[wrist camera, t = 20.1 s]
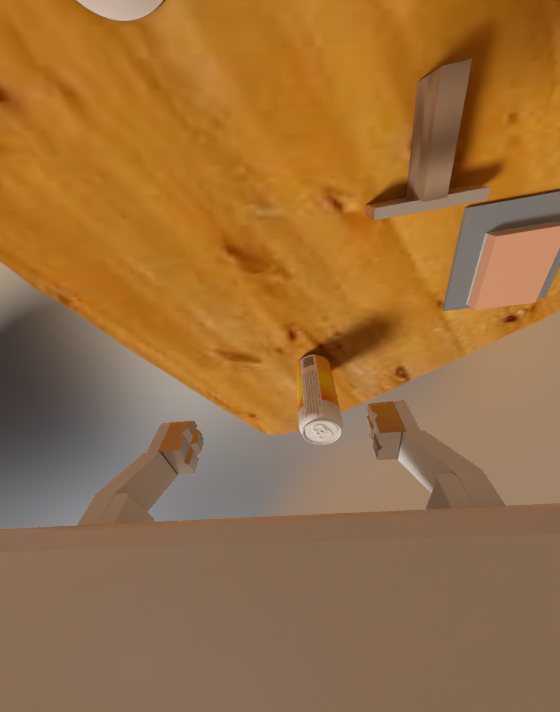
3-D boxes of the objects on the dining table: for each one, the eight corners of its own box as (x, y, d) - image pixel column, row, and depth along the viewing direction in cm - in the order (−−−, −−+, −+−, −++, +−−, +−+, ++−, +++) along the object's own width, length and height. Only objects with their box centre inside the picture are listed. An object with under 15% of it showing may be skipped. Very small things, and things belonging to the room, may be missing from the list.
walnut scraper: (368, 94, 26) (382, 80, 22) (495, 64, 25) (536, 42, 21) (365, 215, 32) (376, 221, 28) (466, 196, 31) (493, 200, 27)
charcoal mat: (465, 207, 32) (467, 208, 31) (592, 184, 30) (596, 184, 29) (442, 309, 40) (444, 310, 39) (542, 296, 38) (544, 297, 38)
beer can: (306, 382, 49) (312, 451, 37) (290, 360, 46) (291, 428, 34) (335, 369, 47) (351, 438, 35) (320, 346, 44) (332, 412, 32)
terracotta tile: (496, 236, 31) (474, 310, 37) (570, 224, 30) (535, 302, 36) (485, 233, 33) (466, 304, 38) (554, 221, 32) (524, 296, 38)
